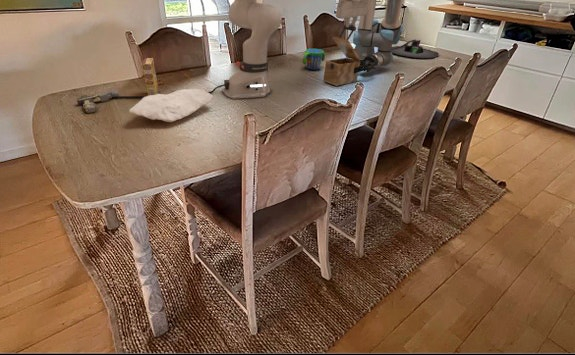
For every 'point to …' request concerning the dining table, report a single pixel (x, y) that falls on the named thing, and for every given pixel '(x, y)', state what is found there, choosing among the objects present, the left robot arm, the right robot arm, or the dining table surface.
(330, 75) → the chest
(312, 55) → the snack cup
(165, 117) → the crumpled cloth
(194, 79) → the dining table surface
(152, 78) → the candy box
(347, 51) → the lid
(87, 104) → the handgun
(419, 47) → the dark round disc
